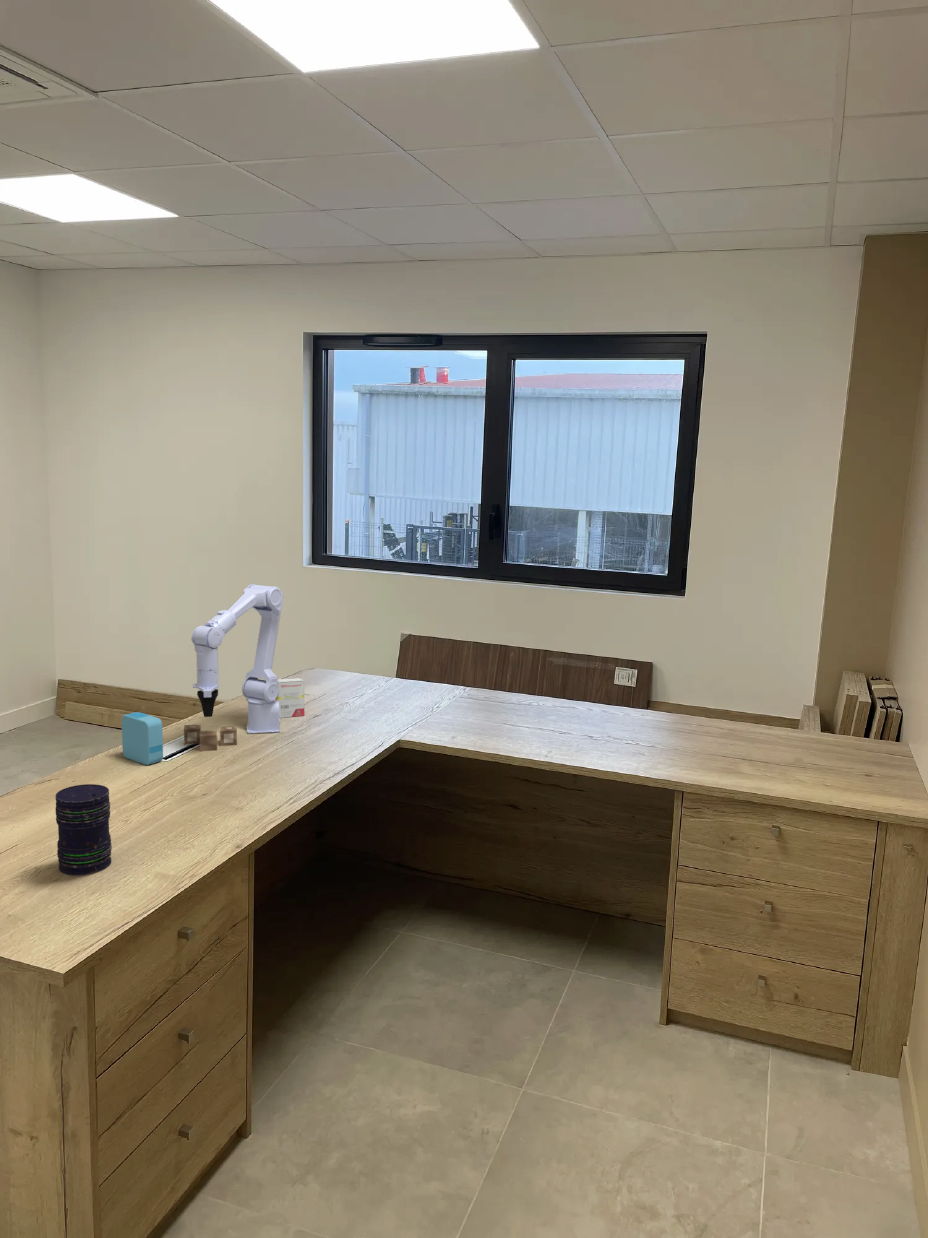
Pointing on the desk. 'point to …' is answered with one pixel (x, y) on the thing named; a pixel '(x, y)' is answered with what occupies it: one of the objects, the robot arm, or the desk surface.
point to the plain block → (208, 740)
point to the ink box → (290, 697)
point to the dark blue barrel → (83, 829)
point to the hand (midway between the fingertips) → (208, 716)
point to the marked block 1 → (192, 734)
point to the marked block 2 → (228, 735)
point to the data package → (142, 738)
